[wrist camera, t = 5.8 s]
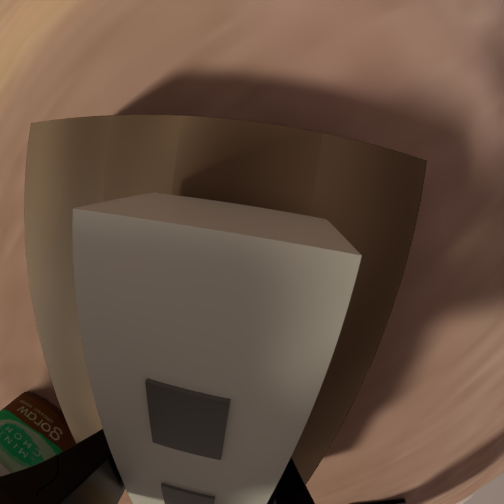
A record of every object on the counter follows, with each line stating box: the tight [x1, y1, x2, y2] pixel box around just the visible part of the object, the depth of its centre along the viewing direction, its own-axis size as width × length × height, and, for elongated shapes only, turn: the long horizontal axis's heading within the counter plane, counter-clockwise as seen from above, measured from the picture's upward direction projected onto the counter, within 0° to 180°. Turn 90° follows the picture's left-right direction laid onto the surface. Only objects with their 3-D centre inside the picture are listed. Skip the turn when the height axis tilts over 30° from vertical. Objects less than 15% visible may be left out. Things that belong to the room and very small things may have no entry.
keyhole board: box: [24, 115, 427, 485], centre depth 11 cm, size 12×18×4 cm, turn 172°
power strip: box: [72, 193, 362, 504], centre depth 8 cm, size 4×14×7 cm, turn 172°
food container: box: [0, 392, 76, 476], centre depth 12 cm, size 12×6×10 cm, turn 81°
